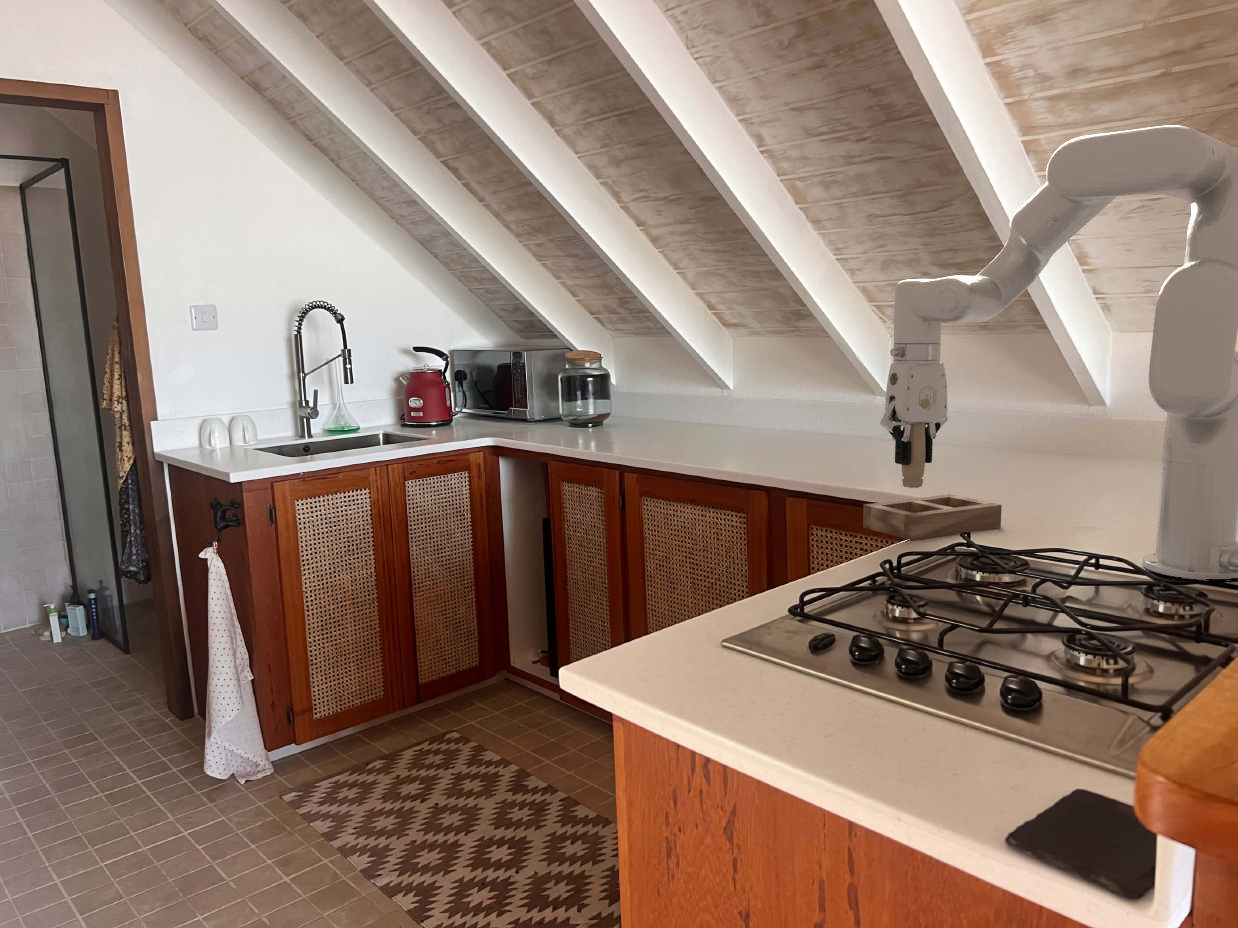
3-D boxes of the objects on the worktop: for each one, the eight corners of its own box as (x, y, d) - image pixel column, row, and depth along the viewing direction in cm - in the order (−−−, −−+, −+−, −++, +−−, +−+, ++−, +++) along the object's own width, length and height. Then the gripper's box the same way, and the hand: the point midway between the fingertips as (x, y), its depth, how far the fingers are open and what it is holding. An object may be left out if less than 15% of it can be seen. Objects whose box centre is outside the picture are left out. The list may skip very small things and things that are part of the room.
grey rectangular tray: (1000, 527, 165) (1001, 504, 164) (912, 540, 156) (912, 516, 156) (948, 515, 176) (949, 494, 175) (863, 527, 167) (863, 504, 166)
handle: (922, 483, 166) (925, 397, 164) (931, 490, 159) (934, 400, 157) (894, 483, 166) (896, 397, 164) (901, 489, 160) (904, 400, 158)
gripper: (893, 356, 153) (890, 470, 155) (970, 353, 160) (966, 462, 163) (862, 355, 159) (859, 464, 162) (937, 352, 167) (934, 457, 169)
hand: (913, 462), depth 162 cm, fingers closed on handle, 4 cm apart
